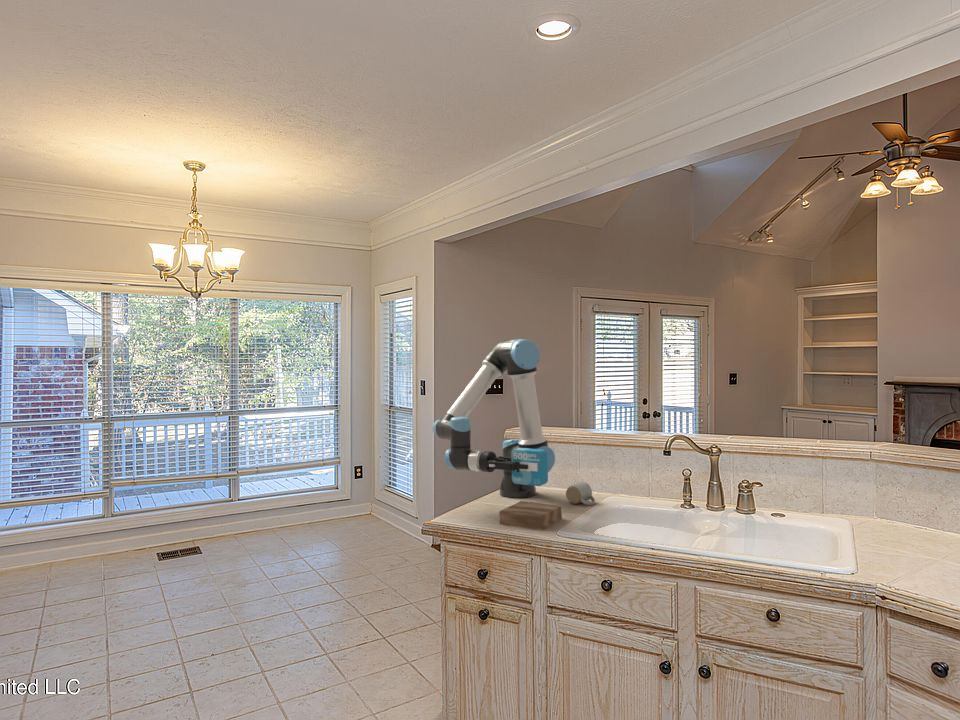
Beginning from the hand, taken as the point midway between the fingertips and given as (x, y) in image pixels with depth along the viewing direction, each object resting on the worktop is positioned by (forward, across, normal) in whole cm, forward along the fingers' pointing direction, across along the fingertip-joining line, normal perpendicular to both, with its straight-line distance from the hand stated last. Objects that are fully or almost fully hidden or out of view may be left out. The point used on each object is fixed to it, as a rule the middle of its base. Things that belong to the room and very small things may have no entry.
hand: (540, 466), depth 210 cm
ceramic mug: (+1, -32, -20) cm, 38 cm away
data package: (-4, 0, -7) cm, 8 cm away
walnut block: (-4, 0, -20) cm, 21 cm away
